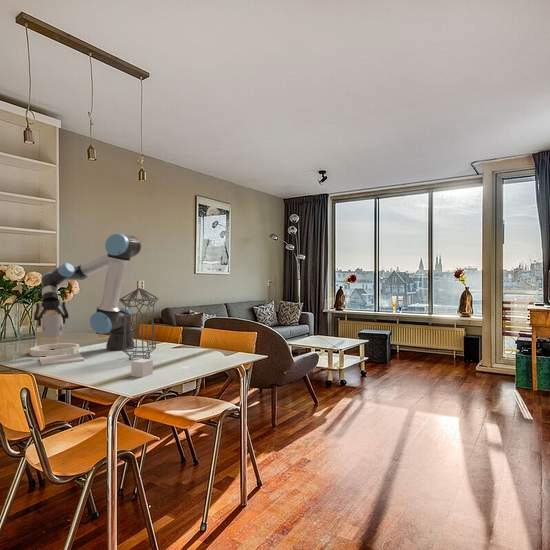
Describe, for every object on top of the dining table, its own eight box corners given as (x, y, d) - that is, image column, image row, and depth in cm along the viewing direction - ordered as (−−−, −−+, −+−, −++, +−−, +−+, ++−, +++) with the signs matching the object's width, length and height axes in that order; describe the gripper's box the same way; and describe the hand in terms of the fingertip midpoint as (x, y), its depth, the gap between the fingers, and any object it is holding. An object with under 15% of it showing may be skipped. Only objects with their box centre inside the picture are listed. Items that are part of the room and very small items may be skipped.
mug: (64, 335, 209) (64, 314, 209) (46, 338, 203) (46, 316, 203) (54, 333, 217) (54, 312, 217) (37, 335, 211) (36, 314, 210)
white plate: (86, 348, 233) (86, 343, 233) (64, 356, 209) (64, 350, 209) (46, 348, 233) (46, 343, 233) (20, 356, 210) (20, 350, 210)
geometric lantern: (117, 361, 195) (117, 288, 195) (131, 355, 210) (130, 287, 211) (149, 362, 194) (149, 288, 194) (161, 355, 209) (160, 287, 209)
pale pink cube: (131, 376, 166) (131, 361, 166) (141, 373, 172) (141, 358, 172) (142, 377, 164) (142, 362, 164) (152, 374, 169) (152, 359, 169)
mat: (78, 355, 212) (78, 353, 212) (84, 360, 197) (84, 358, 197) (38, 359, 202) (38, 357, 202) (41, 365, 187) (41, 363, 187)
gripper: (71, 299, 229) (74, 331, 215) (27, 301, 218) (28, 335, 204) (72, 290, 224) (75, 322, 211) (27, 292, 213) (27, 326, 200)
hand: (52, 329), depth 207 cm, fingers closed on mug, 8 cm apart
